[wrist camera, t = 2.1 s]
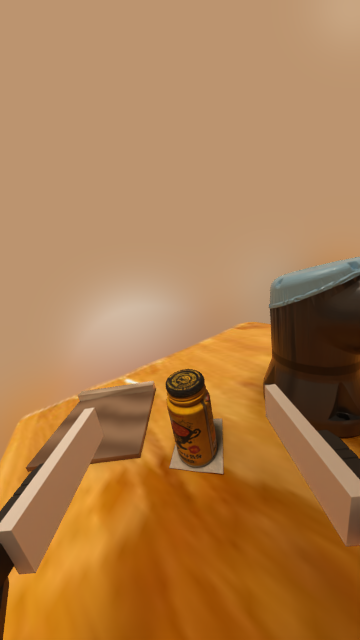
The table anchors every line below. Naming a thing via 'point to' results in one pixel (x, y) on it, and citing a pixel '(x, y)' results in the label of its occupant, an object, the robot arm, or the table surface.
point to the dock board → (109, 422)
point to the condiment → (193, 424)
